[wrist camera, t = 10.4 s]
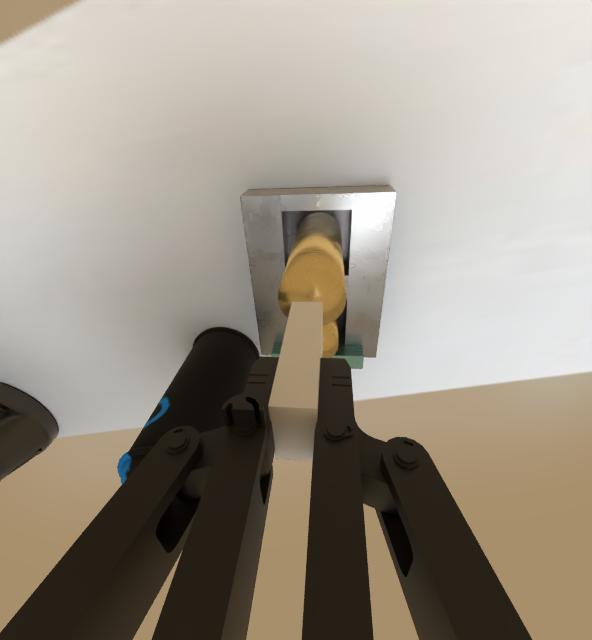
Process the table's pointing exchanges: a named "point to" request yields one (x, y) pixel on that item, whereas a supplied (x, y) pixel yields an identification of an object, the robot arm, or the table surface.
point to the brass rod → (315, 267)
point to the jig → (358, 257)
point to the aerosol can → (197, 391)
